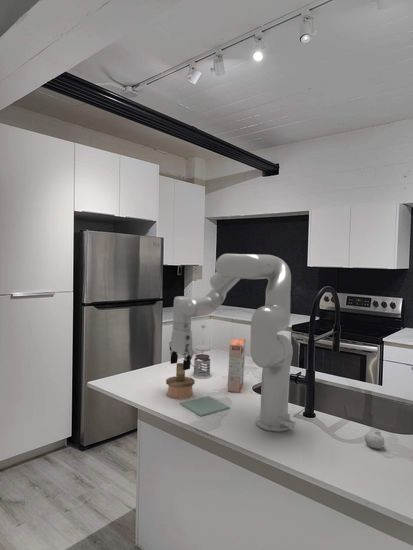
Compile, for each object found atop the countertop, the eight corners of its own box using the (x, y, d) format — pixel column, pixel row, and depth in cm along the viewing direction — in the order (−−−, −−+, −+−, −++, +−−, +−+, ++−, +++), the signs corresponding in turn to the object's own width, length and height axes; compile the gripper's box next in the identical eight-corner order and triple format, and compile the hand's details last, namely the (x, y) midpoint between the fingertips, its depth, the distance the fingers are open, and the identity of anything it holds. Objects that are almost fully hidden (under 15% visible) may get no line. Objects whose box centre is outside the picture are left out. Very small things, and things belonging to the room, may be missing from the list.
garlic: (387, 447, 121) (388, 431, 121) (381, 453, 117) (382, 436, 117) (367, 440, 125) (368, 425, 125) (361, 446, 121) (362, 430, 121)
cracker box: (241, 393, 165) (242, 345, 164) (227, 392, 166) (228, 344, 165) (244, 383, 179) (245, 338, 178) (231, 381, 180) (233, 337, 179)
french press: (215, 377, 185) (216, 326, 184) (192, 379, 181) (193, 327, 180) (207, 371, 194) (209, 322, 193) (185, 373, 190) (187, 323, 189)
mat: (229, 408, 148) (229, 406, 148) (200, 416, 140) (200, 415, 140) (208, 397, 159) (208, 395, 159) (179, 404, 151) (179, 402, 151)
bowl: (196, 395, 161) (196, 383, 161) (176, 400, 155) (176, 388, 155) (183, 388, 169) (183, 377, 168) (163, 392, 163) (164, 381, 163)
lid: (200, 384, 160) (200, 365, 160) (175, 389, 153) (176, 370, 153) (184, 376, 170) (184, 359, 170) (160, 381, 163) (161, 362, 162)
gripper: (201, 329, 156) (199, 370, 157) (178, 321, 170) (176, 360, 171) (185, 330, 151) (183, 373, 152) (163, 323, 165) (161, 362, 166)
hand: (180, 366), depth 161 cm, fingers open, 9 cm apart
